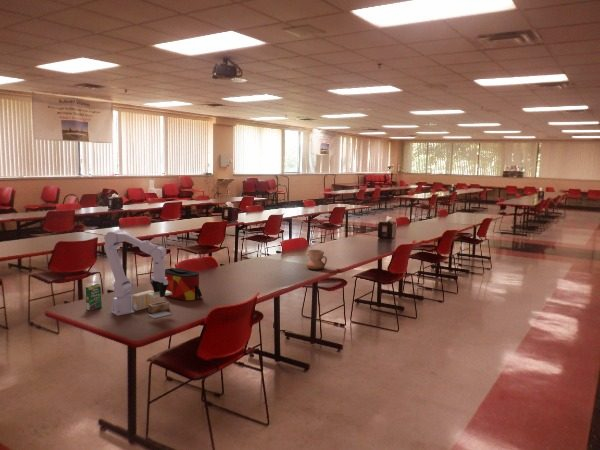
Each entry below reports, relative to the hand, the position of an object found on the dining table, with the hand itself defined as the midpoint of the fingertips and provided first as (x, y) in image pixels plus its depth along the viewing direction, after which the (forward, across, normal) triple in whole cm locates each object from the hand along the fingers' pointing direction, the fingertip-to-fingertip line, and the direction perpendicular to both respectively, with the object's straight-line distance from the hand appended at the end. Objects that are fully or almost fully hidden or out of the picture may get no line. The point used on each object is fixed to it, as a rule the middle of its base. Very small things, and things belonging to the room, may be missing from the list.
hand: (159, 295), depth 248 cm
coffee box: (+11, +32, +22) cm, 40 cm away
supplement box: (+6, +19, -6) cm, 21 cm away
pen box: (+10, +7, -3) cm, 13 cm away
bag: (+11, +24, -26) cm, 37 cm away
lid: (0, 0, 0) cm, 0 cm away
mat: (+10, 0, 0) cm, 10 cm away
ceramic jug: (+11, +25, -144) cm, 147 cm away
